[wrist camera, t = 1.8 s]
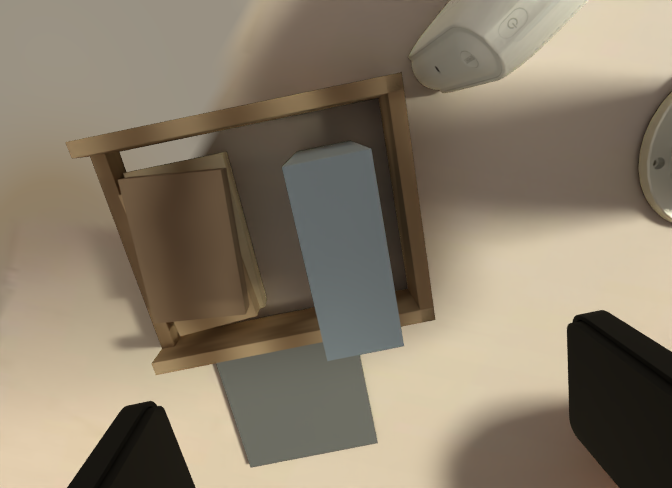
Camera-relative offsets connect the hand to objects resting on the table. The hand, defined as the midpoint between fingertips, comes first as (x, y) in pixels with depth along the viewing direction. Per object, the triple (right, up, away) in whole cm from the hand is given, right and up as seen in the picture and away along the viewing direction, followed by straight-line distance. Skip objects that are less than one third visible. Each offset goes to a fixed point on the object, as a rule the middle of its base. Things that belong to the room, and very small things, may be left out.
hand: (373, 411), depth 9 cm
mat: (-4, -10, +26) cm, 28 cm away
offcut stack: (-11, +4, +21) cm, 24 cm away
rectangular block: (-1, +6, +21) cm, 22 cm away
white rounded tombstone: (+8, +19, +18) cm, 27 cm away
